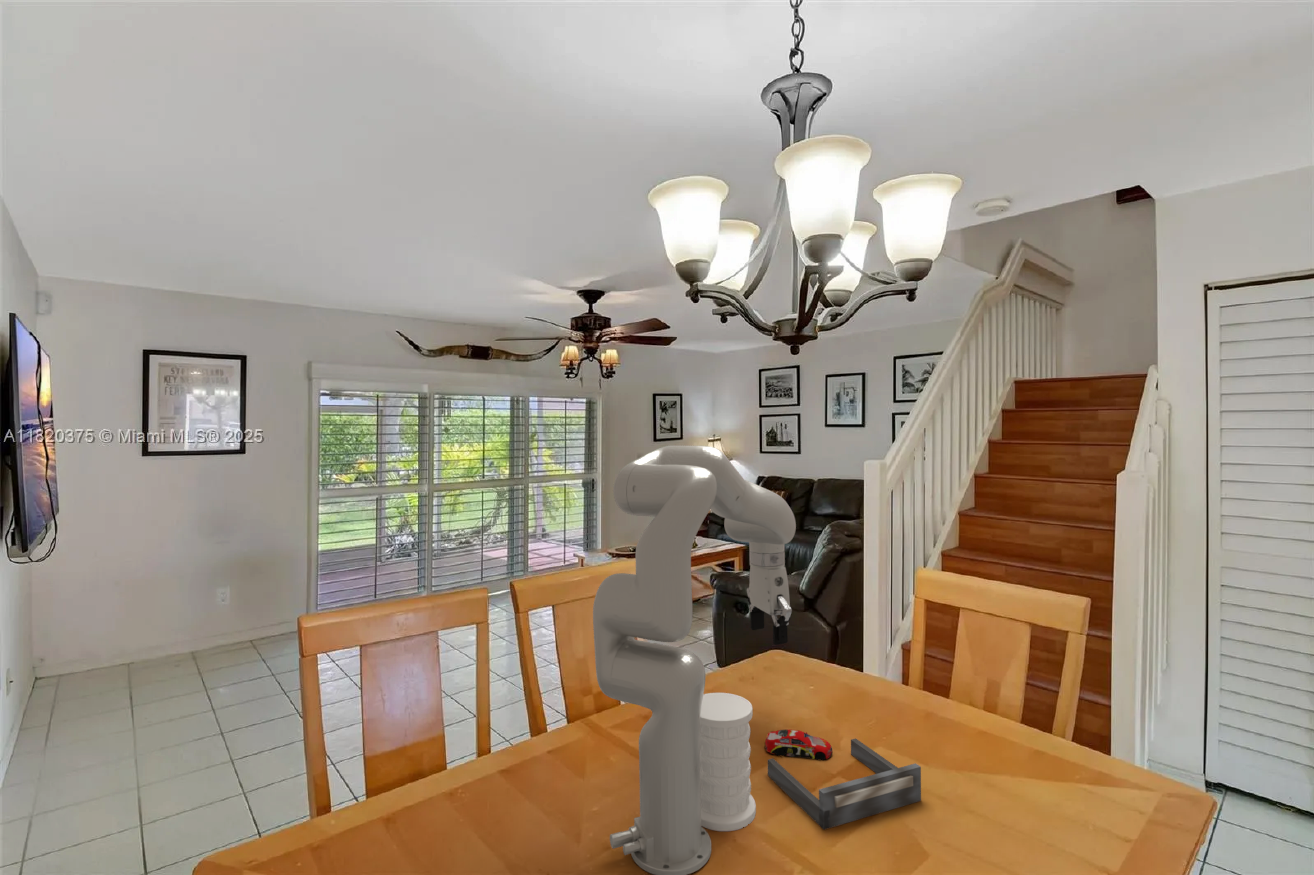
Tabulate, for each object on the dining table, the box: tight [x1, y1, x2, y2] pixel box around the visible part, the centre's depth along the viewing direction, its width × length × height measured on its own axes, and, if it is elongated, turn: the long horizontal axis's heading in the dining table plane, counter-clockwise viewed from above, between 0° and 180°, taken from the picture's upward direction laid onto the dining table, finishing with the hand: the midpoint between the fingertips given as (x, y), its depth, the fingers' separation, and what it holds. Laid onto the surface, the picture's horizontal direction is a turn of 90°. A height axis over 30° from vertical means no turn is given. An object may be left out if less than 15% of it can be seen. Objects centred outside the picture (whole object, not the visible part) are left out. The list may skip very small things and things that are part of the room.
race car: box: [764, 728, 833, 761], centre depth 126 cm, size 13×5×4 cm, turn 76°
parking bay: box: [767, 738, 922, 830], centre depth 113 cm, size 20×18×6 cm
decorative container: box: [700, 692, 757, 832], centre depth 107 cm, size 12×12×18 cm
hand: (768, 636), depth 136 cm, fingers open, 9 cm apart
